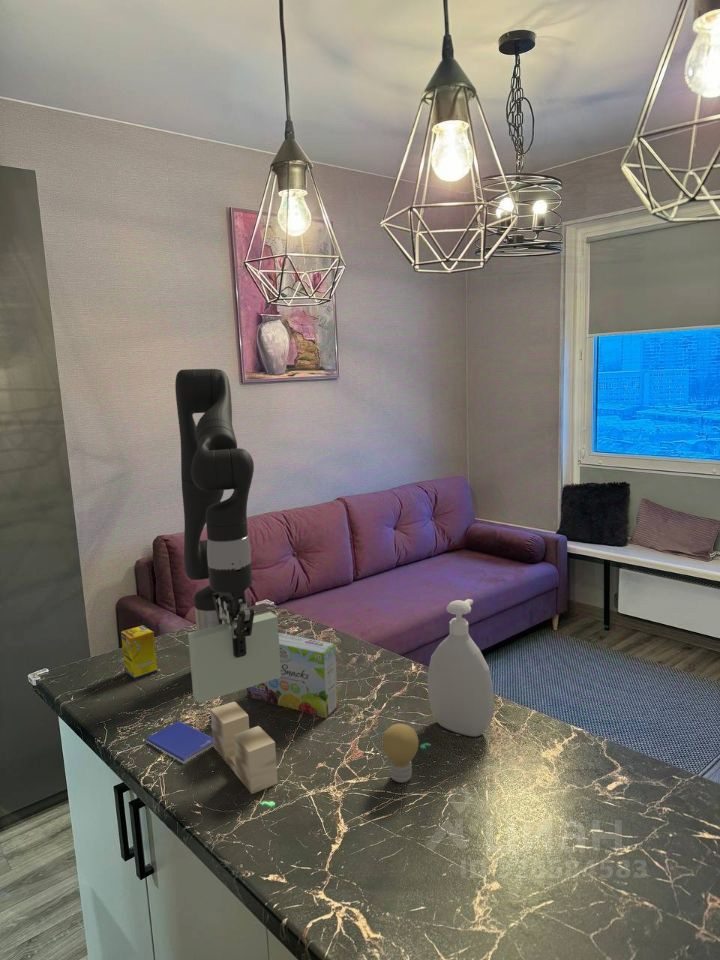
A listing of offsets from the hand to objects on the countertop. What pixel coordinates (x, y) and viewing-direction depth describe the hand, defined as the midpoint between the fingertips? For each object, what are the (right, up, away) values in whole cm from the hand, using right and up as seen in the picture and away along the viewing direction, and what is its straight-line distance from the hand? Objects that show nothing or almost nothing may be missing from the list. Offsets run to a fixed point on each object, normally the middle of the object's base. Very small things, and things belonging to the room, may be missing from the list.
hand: (236, 652), depth 118 cm
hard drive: (-13, -22, +12) cm, 28 cm away
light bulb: (+30, -22, -2) cm, 37 cm away
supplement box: (-32, -17, +43) cm, 56 cm away
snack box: (+7, -18, +26) cm, 32 cm away
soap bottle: (+43, -19, +14) cm, 49 cm away
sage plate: (0, -7, +1) cm, 7 cm away
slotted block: (+1, -22, +4) cm, 22 cm away
